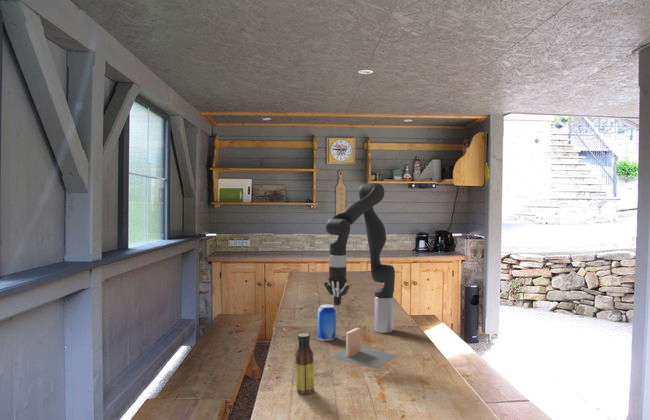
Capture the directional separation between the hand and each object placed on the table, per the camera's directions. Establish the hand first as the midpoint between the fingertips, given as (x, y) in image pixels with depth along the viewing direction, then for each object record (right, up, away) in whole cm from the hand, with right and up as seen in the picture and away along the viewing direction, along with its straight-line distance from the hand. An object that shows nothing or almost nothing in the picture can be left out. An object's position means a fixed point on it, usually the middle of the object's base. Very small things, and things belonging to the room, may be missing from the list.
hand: (337, 305), depth 200 cm
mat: (+11, -21, -6) cm, 24 cm away
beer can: (-5, -20, +18) cm, 27 cm away
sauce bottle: (-12, -22, -40) cm, 47 cm away
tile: (+7, -20, -4) cm, 21 cm away
